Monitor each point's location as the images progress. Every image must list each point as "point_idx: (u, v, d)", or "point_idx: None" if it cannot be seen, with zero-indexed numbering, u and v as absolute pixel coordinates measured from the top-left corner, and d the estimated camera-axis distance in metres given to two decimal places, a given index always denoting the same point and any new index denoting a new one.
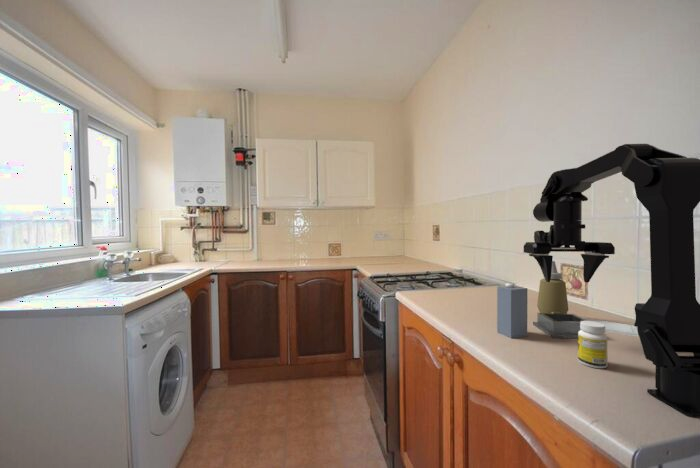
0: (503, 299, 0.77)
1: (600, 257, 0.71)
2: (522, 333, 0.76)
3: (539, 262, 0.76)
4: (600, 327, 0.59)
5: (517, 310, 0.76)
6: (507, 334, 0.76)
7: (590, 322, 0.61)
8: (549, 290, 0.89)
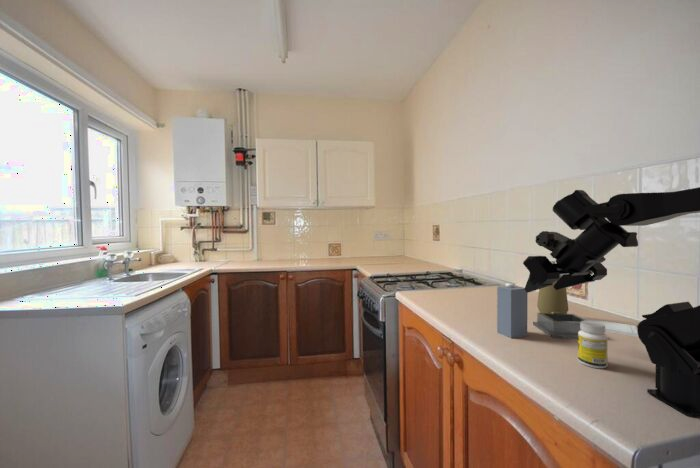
0: (503, 299, 0.77)
1: (588, 282, 0.66)
2: (522, 333, 0.76)
3: (531, 275, 0.66)
4: (600, 327, 0.59)
5: (517, 310, 0.76)
6: (507, 334, 0.76)
7: (590, 322, 0.61)
8: (549, 290, 0.89)
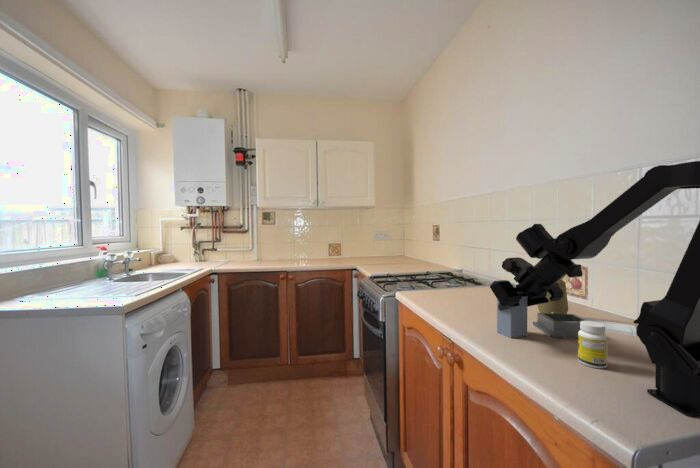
0: None
1: (542, 303, 0.74)
2: (522, 333, 0.76)
3: None
4: (600, 327, 0.59)
5: (517, 309, 0.76)
6: (507, 334, 0.76)
7: (590, 322, 0.61)
8: None
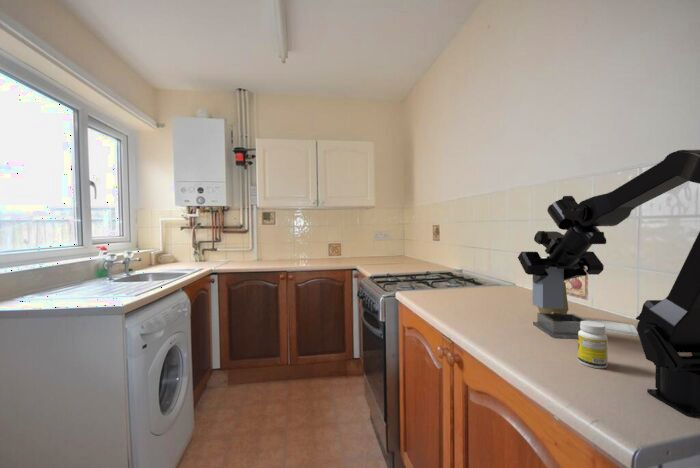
0: None
1: (578, 275, 0.74)
2: (557, 305, 0.78)
3: None
4: (600, 327, 0.59)
5: (551, 282, 0.78)
6: (540, 305, 0.79)
7: (590, 322, 0.61)
8: None
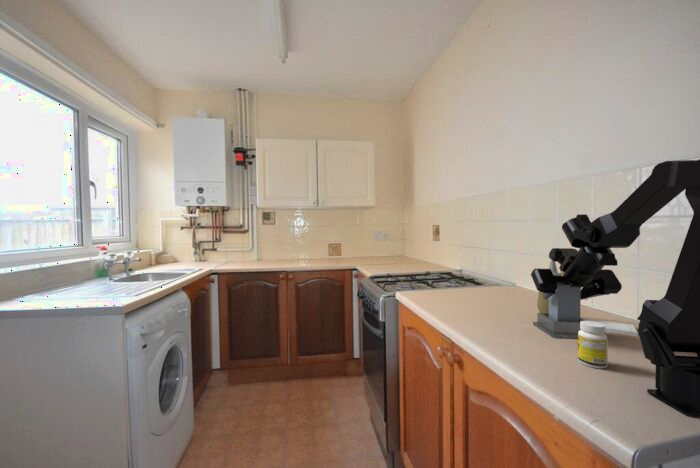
0: None
1: (600, 294, 0.74)
2: None
3: None
4: (600, 327, 0.59)
5: (566, 304, 0.78)
6: None
7: (590, 322, 0.61)
8: None
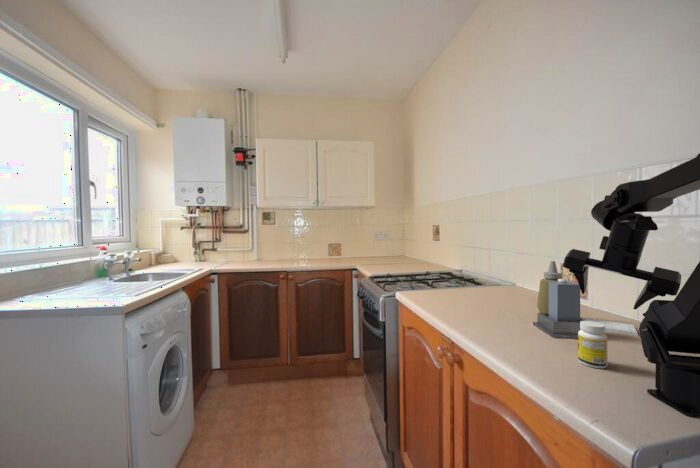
0: (552, 293, 0.80)
1: (649, 293, 0.60)
2: None
3: None
4: (600, 327, 0.59)
5: (566, 304, 0.78)
6: None
7: (590, 322, 0.61)
8: None
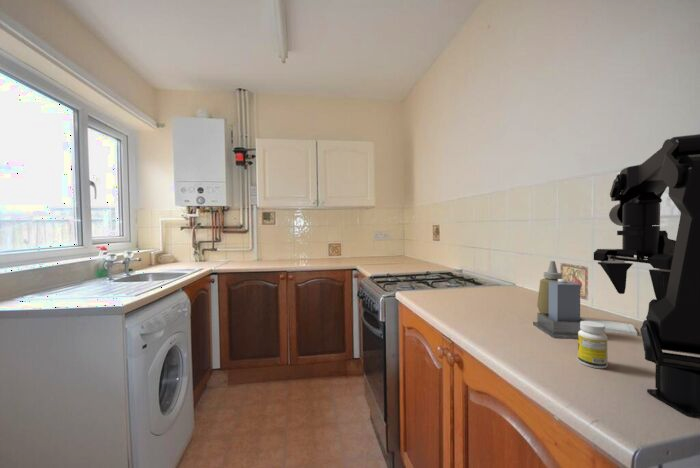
0: (552, 293, 0.80)
1: (652, 271, 0.57)
2: None
3: None
4: (600, 327, 0.59)
5: (566, 304, 0.78)
6: None
7: (590, 322, 0.61)
8: None
